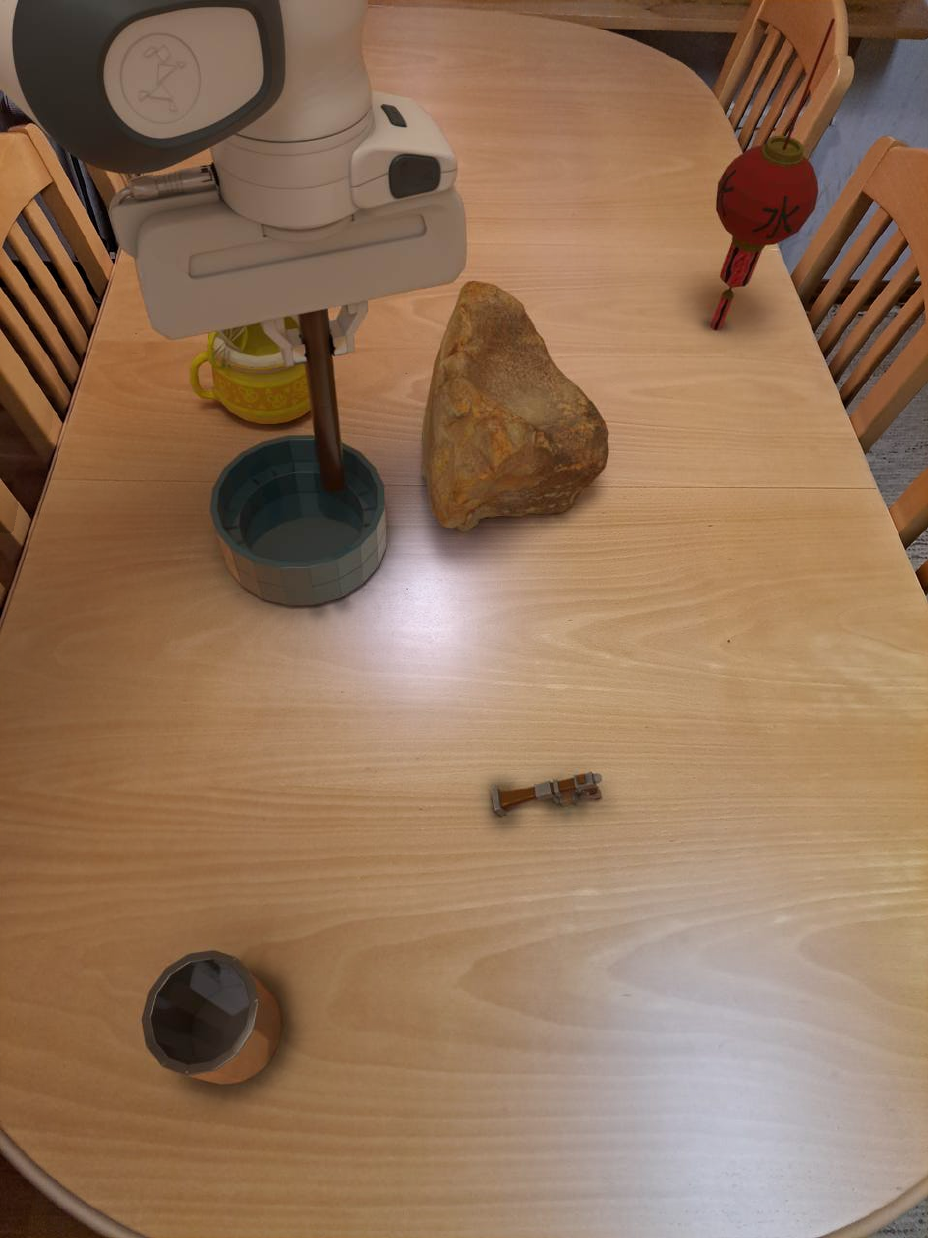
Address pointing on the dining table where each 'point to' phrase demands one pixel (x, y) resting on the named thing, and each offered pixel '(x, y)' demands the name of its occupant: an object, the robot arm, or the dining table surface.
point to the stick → (323, 398)
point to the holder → (211, 1019)
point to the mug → (253, 375)
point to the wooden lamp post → (549, 792)
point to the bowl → (298, 522)
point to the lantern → (763, 202)
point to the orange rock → (504, 418)
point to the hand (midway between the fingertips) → (318, 354)
